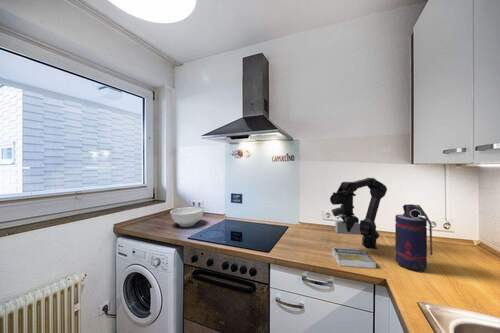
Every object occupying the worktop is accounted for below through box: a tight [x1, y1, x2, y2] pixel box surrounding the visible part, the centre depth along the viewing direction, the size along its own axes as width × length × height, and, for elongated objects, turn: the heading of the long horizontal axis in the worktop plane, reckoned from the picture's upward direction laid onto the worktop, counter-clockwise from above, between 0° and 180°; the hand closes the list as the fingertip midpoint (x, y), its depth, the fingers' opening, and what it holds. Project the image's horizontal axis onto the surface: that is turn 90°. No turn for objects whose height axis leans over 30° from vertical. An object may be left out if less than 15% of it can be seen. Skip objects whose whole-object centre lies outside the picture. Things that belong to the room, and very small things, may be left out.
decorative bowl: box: [169, 206, 205, 228], centre depth 164 cm, size 27×27×12 cm
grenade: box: [394, 203, 433, 273], centre depth 95 cm, size 14×12×30 cm
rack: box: [330, 247, 377, 269], centre depth 102 cm, size 16×15×4 cm
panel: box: [334, 220, 361, 236], centre depth 114 cm, size 12×4×6 cm, turn 80°
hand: (347, 230), depth 114 cm, fingers closed on panel, 4 cm apart
